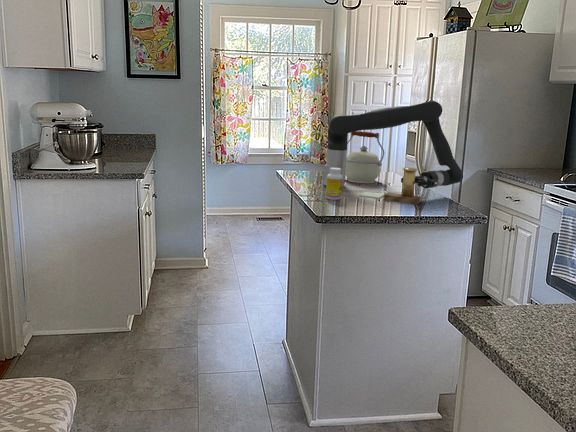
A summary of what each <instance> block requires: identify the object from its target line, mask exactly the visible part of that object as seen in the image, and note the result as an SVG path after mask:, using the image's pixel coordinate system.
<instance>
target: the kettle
mask: <svg viewBox="0 0 576 432" xmlns="http://www.w3.org/2000/svg"><path fill="white" fill-rule="evenodd" d="M354 136H356V137H362V138H363V137H364V138H375V139H376V141H377V144H378V145H379V147H380V149H381V151H382V156H381V158H380V159H379V156H378V155H377V154H376V153H375V152H371V151H368V150H369V149H368V147H367V146H366V145H362V146H361V147H360V148H359V150H355V151H352V152H349V154H348V155H347V158H346V170H345V177H347V178H346V180H347V181H348V182H351V183H355V184H374V183H376V180H377V179H378V177H379V176H380V173H381V166H382V165H383V164H382V161H383V160H384V156H385V149H384V148H383V146H382V144H381V142H380V133H379V132H376V133H374V132H370V131H363V130H360V131H355V132H351V133H350V138H349V140H347V145H348V144H349V143H350V141H352V139H353V137H354Z"/></svg>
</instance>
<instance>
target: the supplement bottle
mask: <svg viewBox="0 0 576 432" xmlns="http://www.w3.org/2000/svg"><path fill="white" fill-rule="evenodd" d="M340 172H341V169H340V168H330V174H328V175H327V184H326V185H325V186H326V187H325V188H326V189H325V199H328V200H331V201H339V200H341V199H342V194H343V193H342V192H343V191H342V190H343V187H342V182H343V176H342V175H341V174H340Z"/></svg>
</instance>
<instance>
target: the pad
mask: <svg viewBox="0 0 576 432" xmlns="http://www.w3.org/2000/svg"><path fill="white" fill-rule="evenodd" d="M385 194H386V193H378V192H377V193H376V192H370V191H364V192H362V193H360V194H359V195H358V196H359V197H363V198H371V199H377V200H379V199H382V198H384V195H385Z"/></svg>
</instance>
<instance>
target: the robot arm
mask: <svg viewBox="0 0 576 432" xmlns="http://www.w3.org/2000/svg"><path fill="white" fill-rule="evenodd" d="M442 106H443V105H442V104H441V103H439V102H438V101H435V100H428V101H425V102H420V103H417V104H413V105H400V106H398V105H397V106H389V107H382V108H377V109H372V110H370V111H366V112H363V113H359V114H349V115H346V114H345V115H344V114H335V115H333V116H331V118H330V120H329V122H328V131H327V148H326V149H327V151H326V161H325V163H326V164H325V165H324V172H323V186H326V184H327V175H328V174H330V168H340V169H341V172H340V174H341V175H342V176H343V182H342V188H343V187H344V186H345V179H346V175H345V170H346V158H347V156H348V155H347V154H348V144H347V142H348V138H349V137H348V136H349V134H351V132H355V131H372V130H382V129H390V128H394V127H398V126H402V125H405V124H408V123H412V122H422V123H423V125H424V127H425V128H426V131H427V133H428V135H429V138H430V141H431V144H432V147H433V150H434V153H435V157H436V160H437V163H438V165H439V166H441V167H442V166H443V167H445V166H446V167H448V169H445V170H443V169H442V170H441V169H440V170H426V171H425V170H424V171H423V172H421V173H420V174H417V175H415V182H414V185H417V186H418V187H421V188H423V189H433V188H438V187H441V186H443V187H445V186H450V185H454V184H458V183H461V182H462V181H463V179H464V174H463V171H462V169H461V167H460V166H459V164H458V162H457V161H456V159H455V157H454V156H453V153H452V149H451V146H450V144H449V141H448V139H447V138H446V135H445V134H444V132H443V130H442V125H441V122H440V117H441V115H442V113H443V107H442ZM400 183H402V184H403V177H401V178H400Z"/></svg>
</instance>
